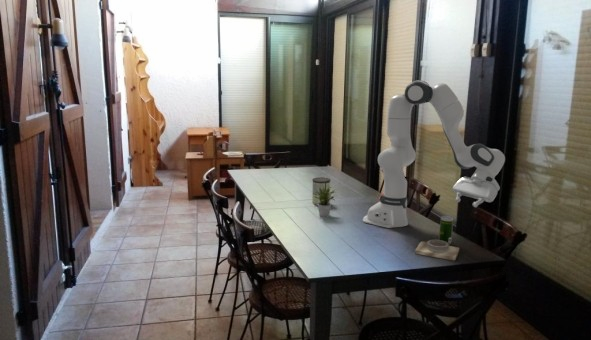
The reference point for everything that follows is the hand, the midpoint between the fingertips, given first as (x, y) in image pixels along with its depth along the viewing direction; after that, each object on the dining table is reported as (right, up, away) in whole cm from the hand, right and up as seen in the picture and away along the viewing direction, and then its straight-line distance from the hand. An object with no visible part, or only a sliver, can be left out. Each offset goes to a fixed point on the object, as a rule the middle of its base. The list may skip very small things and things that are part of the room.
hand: (465, 203), depth 212 cm
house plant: (-61, -9, +35) cm, 71 cm away
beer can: (-10, -18, -3) cm, 20 cm away
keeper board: (-17, -20, -14) cm, 29 cm away
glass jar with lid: (-62, -4, +59) cm, 86 cm away
